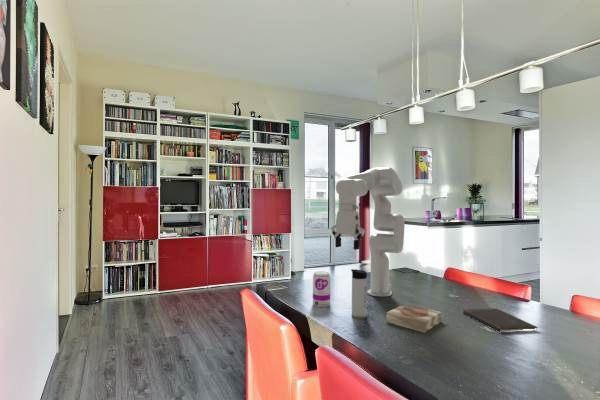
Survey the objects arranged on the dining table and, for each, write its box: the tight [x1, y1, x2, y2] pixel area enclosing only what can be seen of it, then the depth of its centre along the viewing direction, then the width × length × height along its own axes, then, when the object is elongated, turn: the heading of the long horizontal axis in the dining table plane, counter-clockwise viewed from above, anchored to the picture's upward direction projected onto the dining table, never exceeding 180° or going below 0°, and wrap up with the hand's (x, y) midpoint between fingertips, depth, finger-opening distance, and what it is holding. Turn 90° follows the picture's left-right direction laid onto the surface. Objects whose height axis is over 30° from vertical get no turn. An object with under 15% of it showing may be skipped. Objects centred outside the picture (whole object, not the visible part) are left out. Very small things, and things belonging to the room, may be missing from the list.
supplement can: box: [312, 271, 331, 308], centre depth 168 cm, size 8×8×15 cm
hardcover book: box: [462, 308, 539, 332], centre depth 147 cm, size 16×23×2 cm
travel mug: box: [351, 269, 368, 320], centre depth 152 cm, size 6×7×20 cm
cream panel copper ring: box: [385, 303, 442, 333], centre depth 146 cm, size 16×16×4 cm
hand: (347, 248), depth 153 cm, fingers open, 9 cm apart
